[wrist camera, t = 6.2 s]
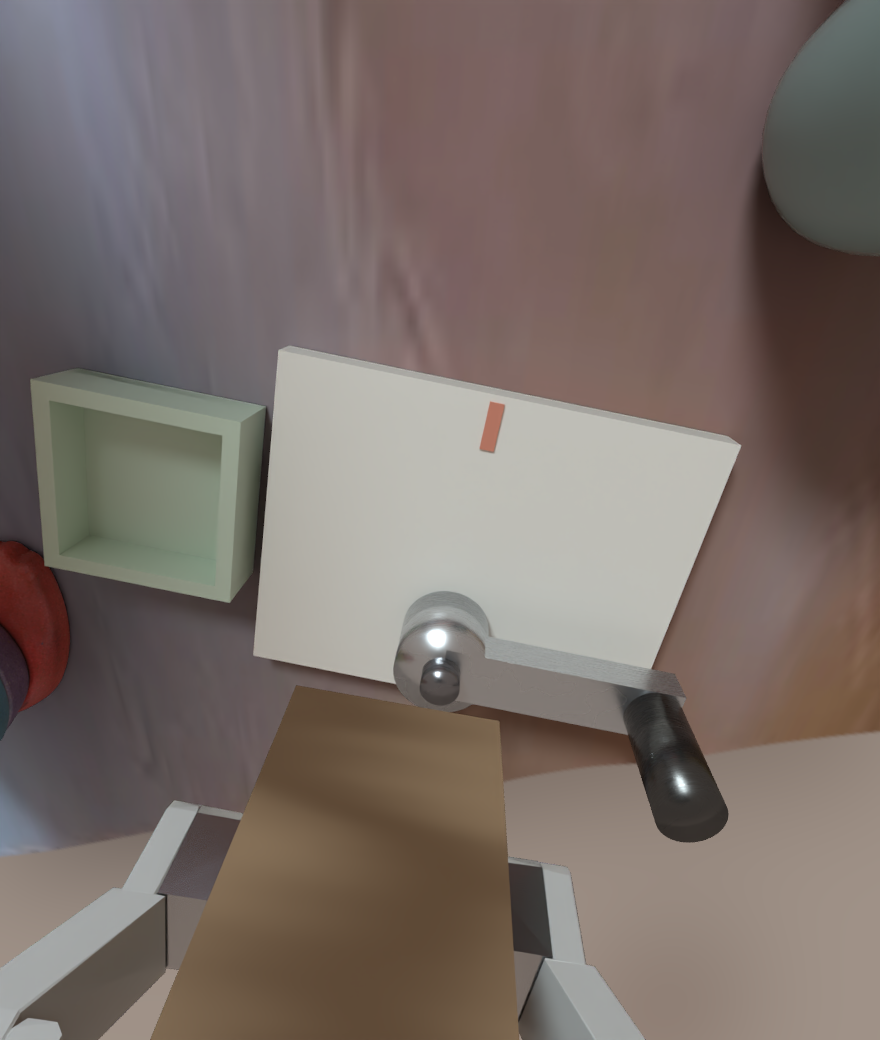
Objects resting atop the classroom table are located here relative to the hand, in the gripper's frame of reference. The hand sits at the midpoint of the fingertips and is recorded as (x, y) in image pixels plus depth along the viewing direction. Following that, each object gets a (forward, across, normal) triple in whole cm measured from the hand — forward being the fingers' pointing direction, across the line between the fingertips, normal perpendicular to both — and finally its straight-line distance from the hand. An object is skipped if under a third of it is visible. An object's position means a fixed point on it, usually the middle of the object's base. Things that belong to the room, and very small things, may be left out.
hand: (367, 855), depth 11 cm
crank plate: (+18, -2, +2) cm, 18 cm away
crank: (+16, -6, +6) cm, 18 cm away
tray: (+18, +12, +2) cm, 22 cm away
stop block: (+2, 0, 0) cm, 2 cm away
